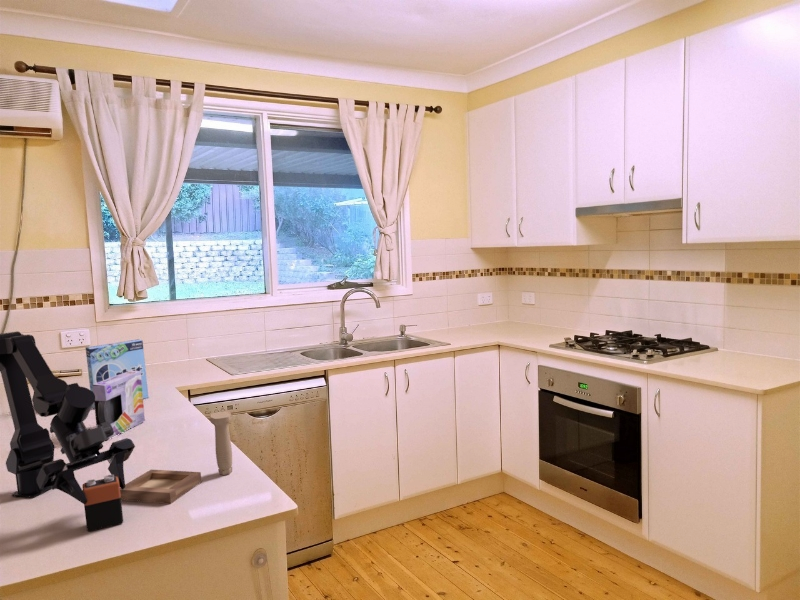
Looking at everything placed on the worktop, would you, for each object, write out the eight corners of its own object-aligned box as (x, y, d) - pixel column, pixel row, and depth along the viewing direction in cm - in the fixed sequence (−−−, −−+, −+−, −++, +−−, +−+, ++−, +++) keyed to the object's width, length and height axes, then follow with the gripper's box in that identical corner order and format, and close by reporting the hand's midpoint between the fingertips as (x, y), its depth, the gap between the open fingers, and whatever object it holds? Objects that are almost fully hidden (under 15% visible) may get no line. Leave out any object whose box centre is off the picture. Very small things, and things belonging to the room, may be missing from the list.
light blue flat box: (144, 396, 237) (138, 338, 234) (149, 398, 233) (143, 340, 231) (91, 407, 223) (84, 347, 221) (95, 410, 220) (89, 348, 217)
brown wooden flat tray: (118, 499, 138) (116, 489, 138) (152, 479, 150) (151, 469, 149) (170, 503, 134) (169, 492, 134) (201, 482, 146) (200, 472, 146)
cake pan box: (108, 441, 182) (102, 384, 180) (93, 441, 183) (87, 384, 181) (147, 422, 201) (141, 370, 199) (133, 421, 202) (128, 370, 200)
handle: (233, 467, 155) (228, 410, 153) (237, 475, 149) (232, 416, 147) (214, 470, 153) (209, 413, 151) (217, 479, 147) (211, 419, 146)
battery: (123, 523, 126) (118, 477, 125) (87, 533, 122) (81, 485, 121) (122, 516, 129) (117, 471, 128) (86, 524, 126) (81, 478, 125)
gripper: (36, 425, 118) (69, 491, 113) (126, 402, 133) (159, 458, 128) (23, 457, 124) (54, 521, 118) (111, 431, 139) (142, 487, 133)
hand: (105, 495), depth 124 cm, fingers closed on battery, 8 cm apart
